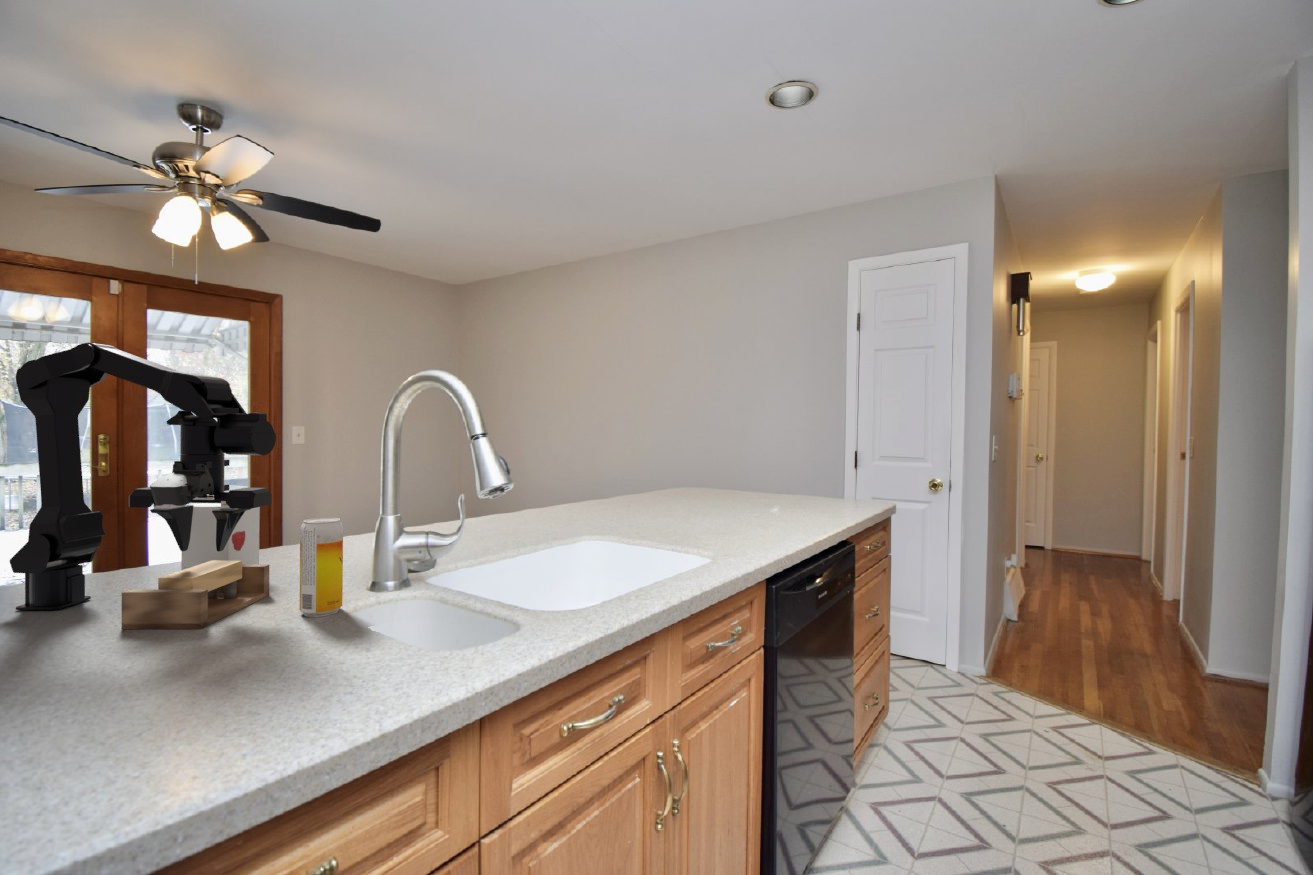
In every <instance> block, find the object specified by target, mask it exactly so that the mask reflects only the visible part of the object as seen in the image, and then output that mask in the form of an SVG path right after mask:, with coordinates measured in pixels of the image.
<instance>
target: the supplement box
mask: <svg viewBox="0 0 1313 875" xmlns="http://www.w3.org/2000/svg"><path fill="white" fill-rule="evenodd" d="M192 505H193V516H192V525H191V534H190V542H189V546H188V550H186V551H181V563H180V564H181V566H180V567H181V569H180V571H181V570H184V569H187V568H190V567H193V566H197V565H200V564H203V563H206V562H209V561H212V560H221V561H242V564H260V520H261V519H260V516H261V515H260V514H261V513H260V512H261V509H260V508H261V507H257V508H252V509H250V510H246V511H245V512H244V514H243V515H242V517H241V518H240V520H239V521H238V523H237V525H236V526H235V528H234V530H233V532H232V534H231V536H230V538H229V540H228V542H227V544H226V546H225V548H224V550H223V551H217V549H216V522H217V521H216V518H215V516H214V514H213V513H212V511H213V510H218V509H221V503H193V504H192Z"/></svg>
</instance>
